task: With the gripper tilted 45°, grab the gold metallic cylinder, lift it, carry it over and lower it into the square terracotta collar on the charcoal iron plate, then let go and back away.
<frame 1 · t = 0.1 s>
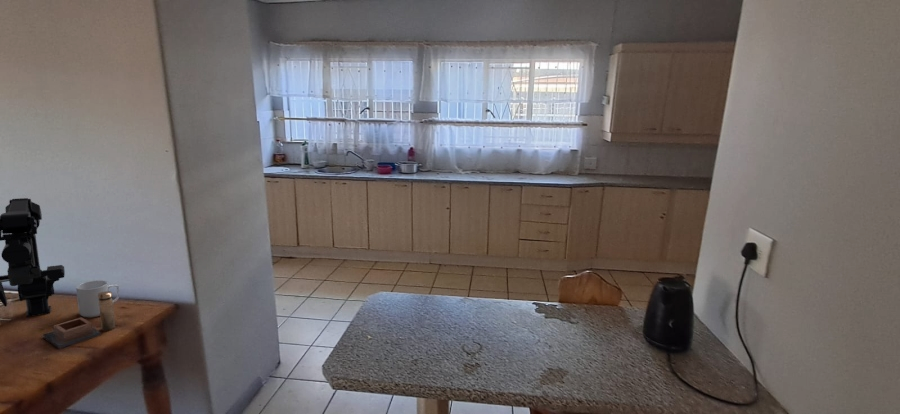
hand: (27, 302, 134), 15 cm above the table, tool pointing down, fingers open, 9 cm apart
gold metallic cylinder: (108, 328, 150), on the table
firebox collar: (74, 335, 144), on the table
mug: (100, 312, 161), on the table
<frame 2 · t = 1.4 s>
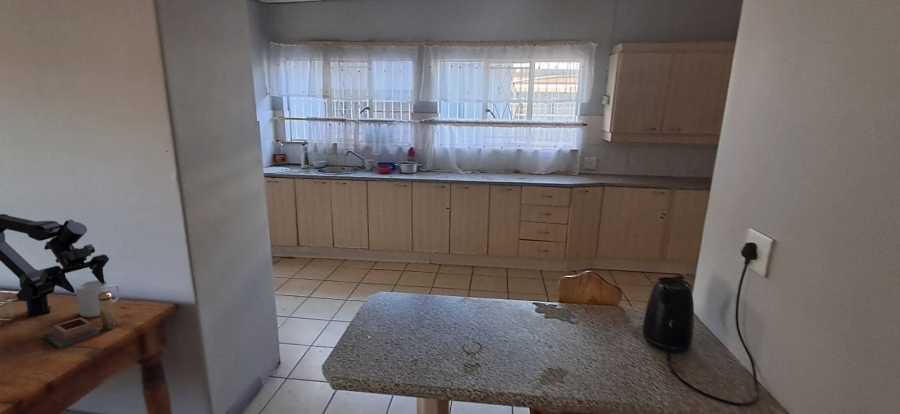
hand: (89, 287, 150), 14 cm above the table, tool tilted 45°, fingers open, 9 cm apart
nothing on the table moved.
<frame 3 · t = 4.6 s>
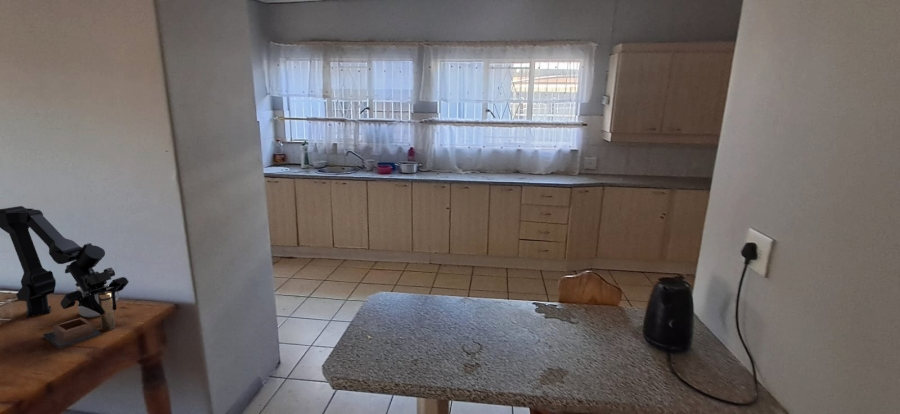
hand: (109, 311, 148), 7 cm above the table, tool tilted 45°, fingers closed on gold metallic cylinder, 4 cm apart
gold metallic cylinder: (108, 328, 150), on the table, touching gripper
everything else where it was.
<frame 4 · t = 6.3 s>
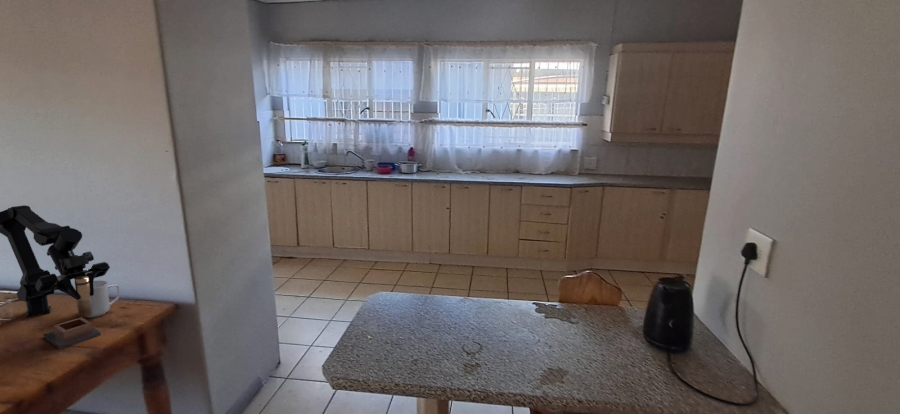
hand: (85, 297, 143), 13 cm above the table, tool tilted 45°, fingers closed on gold metallic cylinder, 4 cm apart
gold metallic cylinder: (85, 314, 145), point 7 cm above the table, touching gripper
everything else where it was.
when the fingers open (9 cm above the table, at t = 7.9 s): gold metallic cylinder drops 1 cm, resting on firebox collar.
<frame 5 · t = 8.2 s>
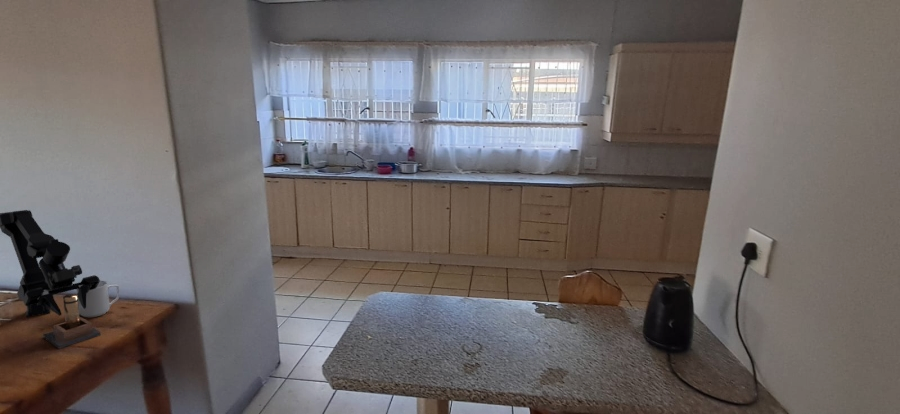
hand: (73, 311, 142), 9 cm above the table, tool tilted 45°, fingers open, 6 cm apart
gold metallic cylinder: (73, 332, 144), point 1 cm above the table, touching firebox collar
everything else where it was.
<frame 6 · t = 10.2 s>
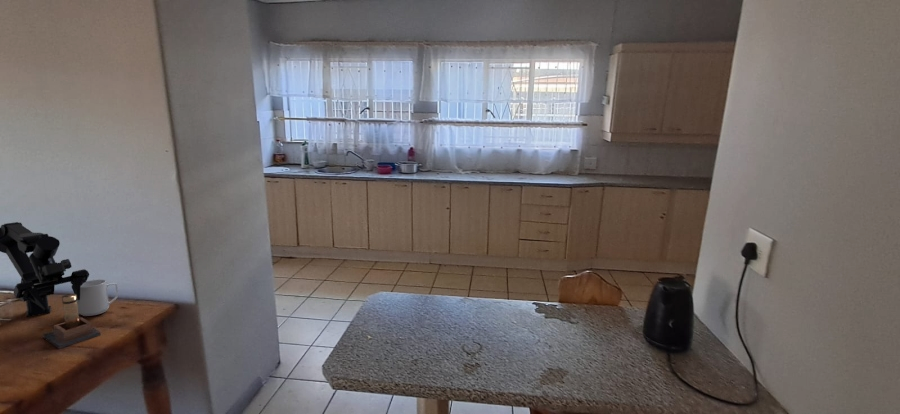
hand: (62, 304, 145), 9 cm above the table, tool tilted 45°, fingers open, 9 cm apart
mug: (100, 311, 161), on the table, touching gripper
everything else where it was.
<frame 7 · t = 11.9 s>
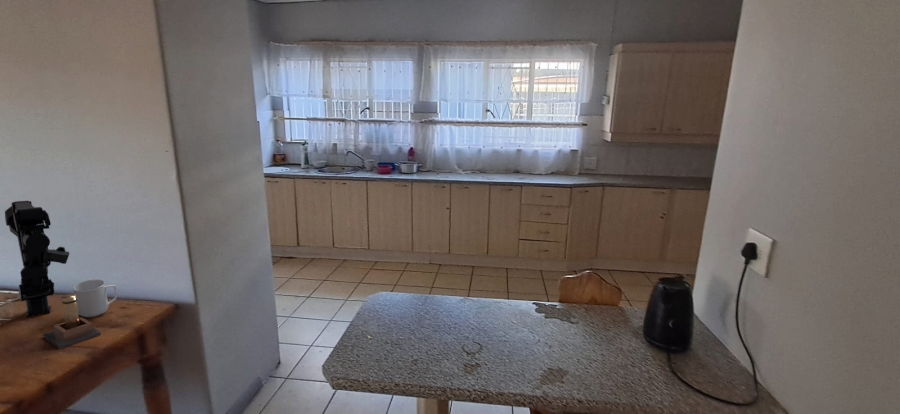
hand: (39, 288, 147), 13 cm above the table, tool pointing down, fingers open, 9 cm apart
mug: (99, 311, 161), on the table
everything else where it was.
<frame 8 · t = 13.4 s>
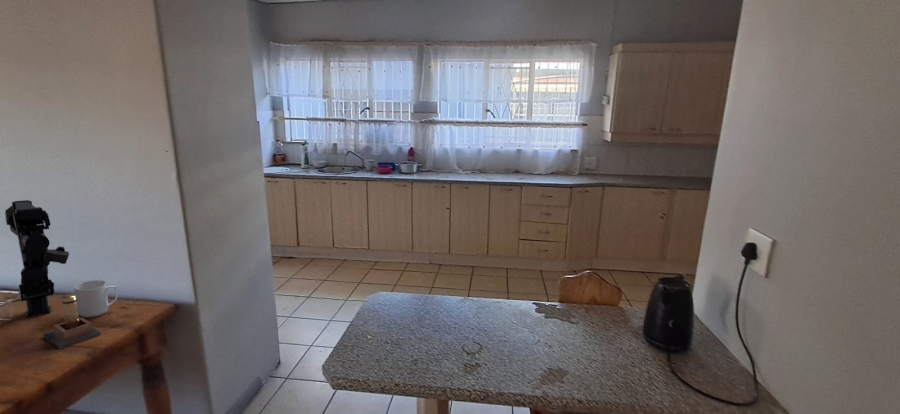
hand: (39, 288, 147), 13 cm above the table, tool pointing down, fingers open, 9 cm apart
at the end: gold metallic cylinder 0.0 cm off-centre on the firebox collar, point 1.0 cm above the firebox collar's base; gold metallic cylinder tilted 1°; the gripper is holding nothing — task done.
